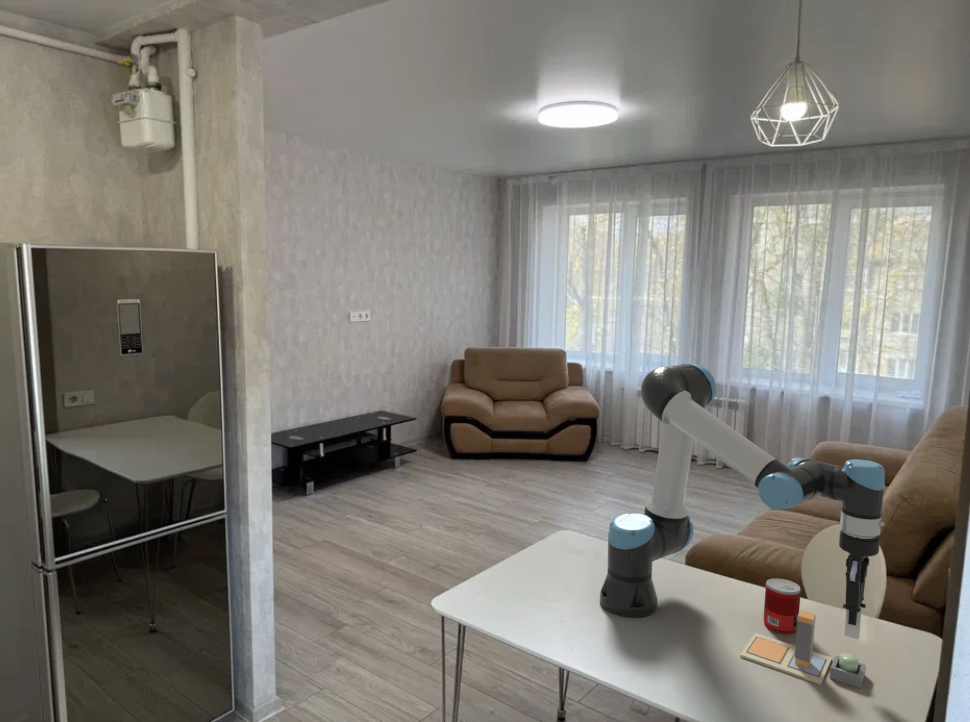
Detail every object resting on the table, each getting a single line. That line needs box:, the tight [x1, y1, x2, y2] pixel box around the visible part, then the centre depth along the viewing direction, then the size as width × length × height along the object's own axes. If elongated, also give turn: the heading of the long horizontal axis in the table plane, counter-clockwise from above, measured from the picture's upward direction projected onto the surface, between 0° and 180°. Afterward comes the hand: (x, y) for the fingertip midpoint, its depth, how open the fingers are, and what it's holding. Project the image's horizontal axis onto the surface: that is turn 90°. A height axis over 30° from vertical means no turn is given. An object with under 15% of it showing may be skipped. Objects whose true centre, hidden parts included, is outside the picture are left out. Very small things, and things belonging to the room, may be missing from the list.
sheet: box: [739, 632, 833, 686], centre depth 152 cm, size 17×12×1 cm
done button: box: [839, 653, 859, 674], centre depth 145 cm, size 4×4×3 cm
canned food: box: [763, 577, 802, 635], centre depth 166 cm, size 8×8×11 cm
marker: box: [795, 610, 817, 669], centre depth 148 cm, size 3×3×12 cm
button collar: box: [829, 655, 867, 689], centre depth 145 cm, size 6×6×2 cm
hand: (851, 636), depth 144 cm, fingers closed
